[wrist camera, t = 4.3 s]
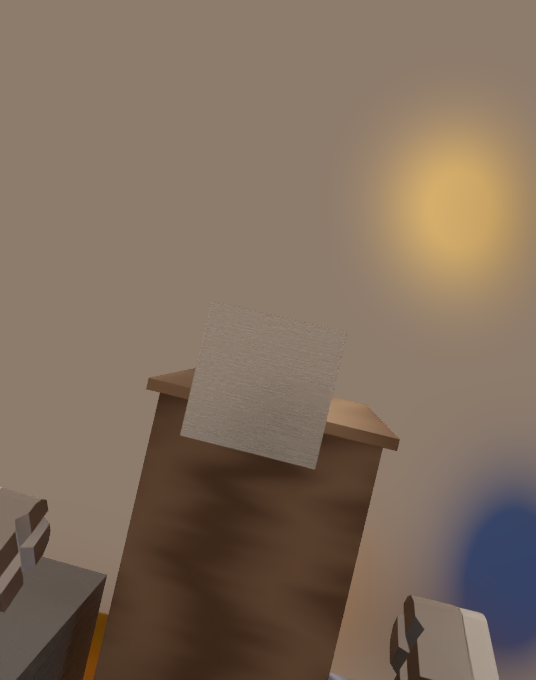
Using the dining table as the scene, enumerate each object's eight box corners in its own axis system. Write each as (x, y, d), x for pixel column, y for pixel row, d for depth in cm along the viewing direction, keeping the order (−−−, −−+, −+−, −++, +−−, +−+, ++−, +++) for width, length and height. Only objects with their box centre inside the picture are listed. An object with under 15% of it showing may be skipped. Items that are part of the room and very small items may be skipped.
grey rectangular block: (310, 392, 32) (322, 339, 32) (314, 469, 12) (347, 332, 12) (257, 380, 33) (270, 327, 33) (180, 435, 13) (211, 300, 13)
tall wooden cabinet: (276, 787, 33) (366, 404, 33) (258, 1038, 21) (399, 439, 21) (118, 739, 34) (205, 366, 34) (15, 953, 22) (148, 377, 22)
